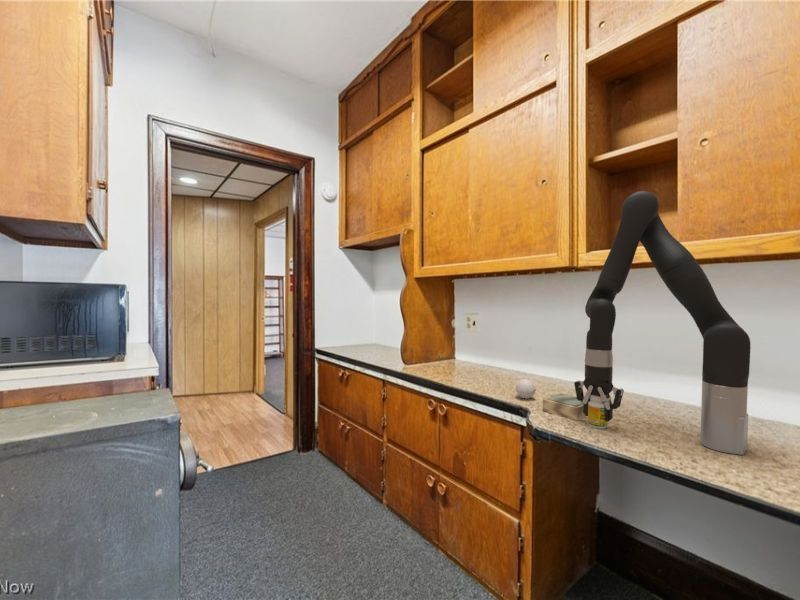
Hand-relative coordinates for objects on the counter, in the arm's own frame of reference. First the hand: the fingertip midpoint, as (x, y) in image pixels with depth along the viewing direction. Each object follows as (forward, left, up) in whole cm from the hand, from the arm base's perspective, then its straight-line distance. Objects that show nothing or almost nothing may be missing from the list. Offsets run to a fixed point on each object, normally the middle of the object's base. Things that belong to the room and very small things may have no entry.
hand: (597, 417), depth 116 cm
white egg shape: (+30, -10, -3) cm, 32 cm away
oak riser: (+12, -6, -2) cm, 14 cm away
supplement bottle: (0, 0, -3) cm, 3 cm away
